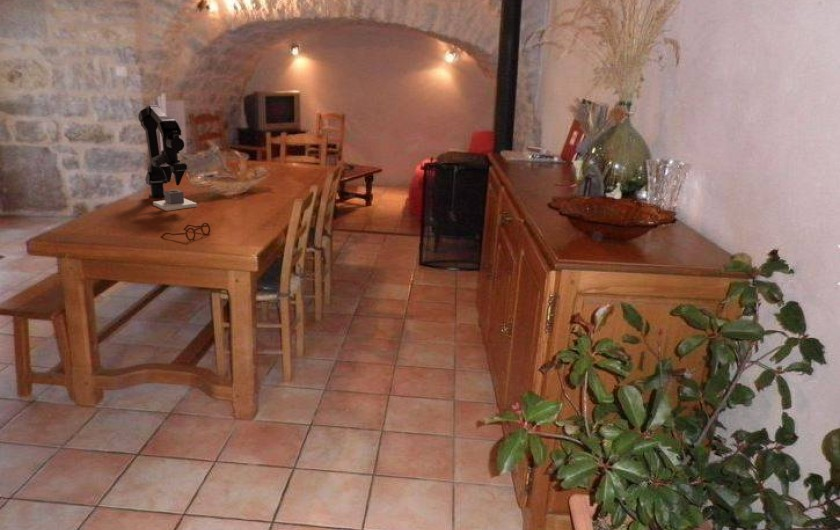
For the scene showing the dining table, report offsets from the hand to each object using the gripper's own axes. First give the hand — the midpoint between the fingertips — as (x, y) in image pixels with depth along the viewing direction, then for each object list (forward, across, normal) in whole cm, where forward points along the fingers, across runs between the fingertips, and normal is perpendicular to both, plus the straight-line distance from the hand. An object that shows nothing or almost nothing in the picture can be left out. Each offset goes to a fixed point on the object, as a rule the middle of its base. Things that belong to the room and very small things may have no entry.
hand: (173, 183), depth 282 cm
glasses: (+11, +48, -18) cm, 52 cm away
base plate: (+10, 0, 0) cm, 10 cm away
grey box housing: (+9, 0, 0) cm, 9 cm away
